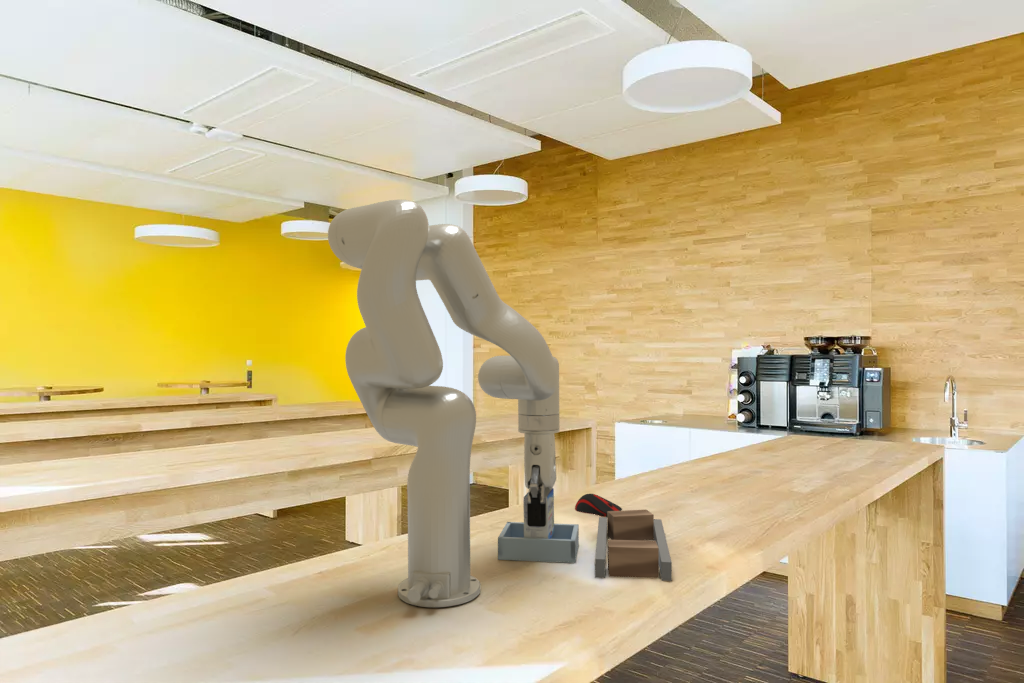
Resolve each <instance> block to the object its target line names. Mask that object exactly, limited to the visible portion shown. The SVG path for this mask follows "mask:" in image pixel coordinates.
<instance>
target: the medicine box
mask: <svg viewBox="0 0 1024 683" xmlns="http://www.w3.org/2000/svg"><path fill="white" fill-rule="evenodd" d="M554 490H555V489H554V487H553V488H552V489H549V488H548V487H545V495H544V503H546V525H545V526H544V527H538V526H528V524H527V503H528V493H529V491H528V492H526V494H525V496H523V499H522V500H523V501H522V502H523V503H522V504H523V506H522V507H523V522H524V538H545V539H551V537H552V536H553V533H554V524H555V494H554V493H555V491H554ZM540 493H541V491H540Z"/></svg>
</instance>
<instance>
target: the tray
mask: <svg viewBox="0 0 1024 683" xmlns="http://www.w3.org/2000/svg"><path fill="white" fill-rule="evenodd" d="M579 527H580V526H579V524H576V523H554V533H553V536H552V537H551V539H545V538H524V521H523V522H522V521H521V522H520V521H507V522H506V523H505V524H504V526H503V528H502V530H501V532H500V534H499V535H498V537H497V560H499V561H500V560H504V561H522V562H526V561H527V562H545V563H546V562H547V563H548V562H549V563H564V564H565V563H569V564H570V563H571V564H574V563H575V564H576V563H577V555H578V551H579V545H580V542H579V539H580V537H579V535H580V534H579V532H580V531H579V530H580V528H579Z"/></svg>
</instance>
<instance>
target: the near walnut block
mask: <svg viewBox="0 0 1024 683" xmlns="http://www.w3.org/2000/svg"><path fill="white" fill-rule="evenodd" d="M607 572H608V577H609V578H643V579H644V578H646V579H659V576H660V575H659V574H660V569H659V548H658V545H657V543H656V541H654V540H611V539H607Z"/></svg>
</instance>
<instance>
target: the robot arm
mask: <svg viewBox="0 0 1024 683" xmlns="http://www.w3.org/2000/svg"><path fill="white" fill-rule="evenodd" d="M327 239H328V244H329V246H330V249H331V251H332V252H333V254H334V255H335V256H336V258H338V260H340V261H341V262H343V263H345V264H346V265H349V266H350V267H353V268H356V269H360V273H359V278H358V282H357V288H356V300H357V307H358V309H359V313H360V315H361V318H362V321H363V323H364V325H365V327H363V328H360V329H358V330H357V331H356V332H355V333H354V334H353V335H352V336H351V337H350V339H349V341H348V343H347V345H346V350H345V356H344V357H345V358H344V359H345V368H346V372H347V374H348V375H347V376H348V377H349V380H350V382H351V385H352V387H353V389H354V391H355V392H356V395H357V397H358V398H359V401H360V403H361V405H362V407H363V409H364V411H365V414H366V415H367V417H368V420H369V421H370V423H371V424H372V426H373V428H374V429H375V431H376V432H377V434H379V436H380V437H382V439H384V440H385V441H388V442H390V443H394V444H398V445H404V446H405V445H406V446H413V447H416V448H417V450H416V452H415V456H414V457H413V459H412V461H411V464H410V467H409V469H408V473H407V481H406V482H407V491H406V492H407V578H405V579H404V580H402V581H401V582H400V583H399V584H398V586H397V596H398V598H399V599H400V600H402V601H403V602H404V603H407V604H410V605H411V606H416V607H417V606H418V607H421V608H422V607H423V608H446V607H447V608H448V607H453V606H458V605H462V604H465V603H468V602H470V601H473V600H474V599H476V598H477V597H478V596H479V595H480V593H481V586H482V585H481V582H480V581H479V579H478V578H476V576H473V575H471V489H470V488H471V486H470V484H471V483H470V482H471V479H470V478H471V477H470V476H471V475H470V474H471V472H470V471H471V468H470V467H471V456H472V450H473V449H472V448H473V442H474V437H475V431H476V425H477V413H476V412H477V411H476V407H475V404H474V403H473V401H472V400H471V398H470V397H469V396H468V395H467V394H466V393H464V392H463V391H461V390H459V389H456V388H453V387H449V386H441V385H440V386H439V385H434V383H436V381H438V380H439V378H440V376H441V375H442V373H443V370H444V369H443V368H444V361H443V356H442V352H441V349H440V346H439V344H438V342H437V338H436V336H435V333H434V331H433V329H432V327H431V325H430V322H429V320H428V316H427V314H426V313H425V310H424V308H423V305H422V303H421V300H420V298H419V297H420V296H419V294H418V291H417V281H427V280H428V281H430V282H431V284H432V285H433V287H434V289H435V290H436V293H437V294H438V295H439V298H440V300H441V302H442V303H443V305H444V307H445V309H446V310H447V312H448V314H449V316H450V318H451V320H452V322H453V323H454V324H455V326H456V327H458V328H459V329H460V330H463V331H465V332H466V333H468V334H471V335H472V336H474V337H477V338H479V339H481V340H484V341H487V342H489V343H491V344H494V345H495V346H497V347H499V348H500V349H502V350H503V351H505V352H506V353H507V354H508V355H496V356H492V357H490V358H488V359H486V360H485V361H484V362H483V364H481V366H480V368H479V370H478V375H477V378H478V381H477V382H478V384H479V386H480V388H481V390H482V391H483V392H484V393H485V394H486V395H488V396H490V397H492V398H496V399H503V400H504V399H505V400H506V399H507V400H517V413H518V414H517V417H518V419H517V421H518V423H517V425H518V428H517V429H518V430H517V431H518V433H521V434H524V437H523V438H524V440H523V442H524V443H523V446H524V450H523V451H524V452H523V454H524V455H523V456H524V457H523V462H524V468H523V469H524V485H525V488H526V489H528V492H529V493H528V492H527V493H528V503H527V524H528V526H538V527H544V526H545V525H546V503H544V495H545V487H548V488H549V489H552V488H553V489H554V486H555V484H556V481H557V463H556V462H557V461H556V438H555V434H558V433H560V426H561V425H560V363H559V360H558V359H557V358H556V357H555V356H553V354H552V352H551V349H550V347H549V346H548V343H547V341H546V339H545V338H544V336H543V335H542V334H541V332H540V331H539V330H538V329H537V328H536V326H534V325H533V323H531V322H530V321H529V320H528V319H526V318H525V317H524V316H523V315H521V314H520V313H519V312H518V311H517V310H515V309H514V308H513V307H512V306H510V305H509V304H507V303H506V302H504V301H503V300H502V299H501V297H500V296H499V294H498V292H497V290H496V288H495V286H494V284H493V282H492V280H491V278H490V276H489V274H488V271H487V269H486V268H485V266H484V264H483V262H482V259H481V258H480V256H479V254H478V252H477V250H476V248H475V246H474V244H473V242H472V240H471V238H470V236H469V234H468V233H467V232H466V231H465V229H463V227H460V226H458V225H455V224H452V223H451V224H450V223H439V224H432V225H429V219H428V216H427V214H426V212H425V210H424V208H423V207H422V206H421V205H420V204H419V203H417V202H415V201H413V200H412V201H411V200H408V199H391V200H385V201H380V202H375V203H370V204H365V205H360V206H356V207H355V206H354V207H350V208H347V209H344V210H343V211H341V212H339V213H337V214H336V215H335V216H334V217H333V219H332V220H331V221H330V223H329V226H328V230H327ZM540 491H541V493H540Z"/></svg>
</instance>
